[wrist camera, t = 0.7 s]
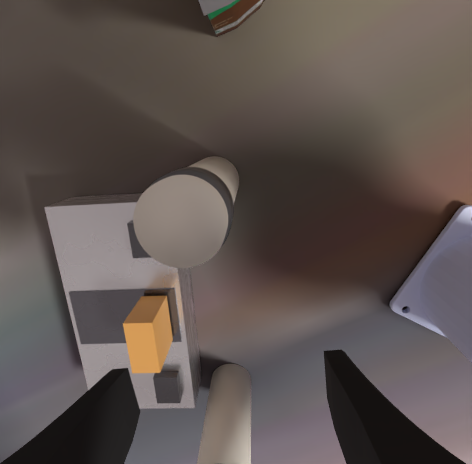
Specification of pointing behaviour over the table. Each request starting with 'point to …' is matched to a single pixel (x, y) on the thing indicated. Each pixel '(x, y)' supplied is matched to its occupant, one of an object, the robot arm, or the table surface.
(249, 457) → the cable post
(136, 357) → the block
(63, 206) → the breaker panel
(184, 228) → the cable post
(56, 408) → the table surface
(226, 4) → the food container
